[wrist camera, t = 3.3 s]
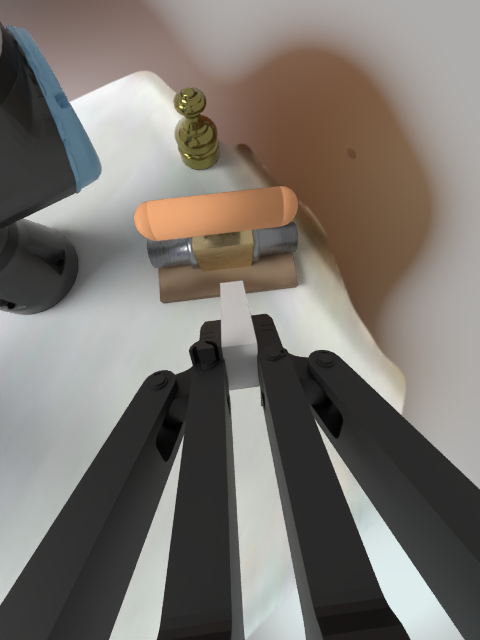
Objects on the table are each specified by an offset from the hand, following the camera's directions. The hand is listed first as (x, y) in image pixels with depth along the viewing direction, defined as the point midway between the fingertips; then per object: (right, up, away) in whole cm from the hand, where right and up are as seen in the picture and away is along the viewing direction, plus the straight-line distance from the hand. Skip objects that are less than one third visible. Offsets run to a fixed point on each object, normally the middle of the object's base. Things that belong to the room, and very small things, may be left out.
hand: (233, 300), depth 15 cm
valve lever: (-2, +12, +14) cm, 19 cm away
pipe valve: (-2, +10, +23) cm, 25 cm away
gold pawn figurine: (-7, +30, +27) cm, 41 cm away
